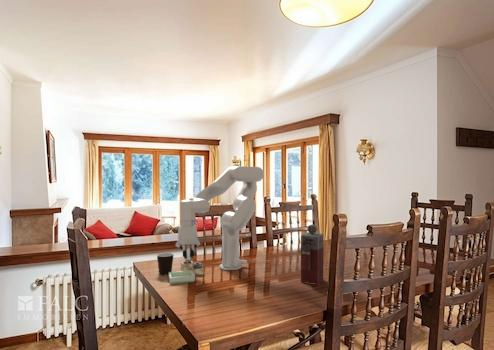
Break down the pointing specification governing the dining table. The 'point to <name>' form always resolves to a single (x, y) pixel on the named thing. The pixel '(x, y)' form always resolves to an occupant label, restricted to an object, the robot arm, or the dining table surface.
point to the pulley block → (192, 267)
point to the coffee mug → (165, 263)
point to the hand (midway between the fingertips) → (188, 257)
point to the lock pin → (188, 254)
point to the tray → (181, 277)
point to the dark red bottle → (312, 256)
